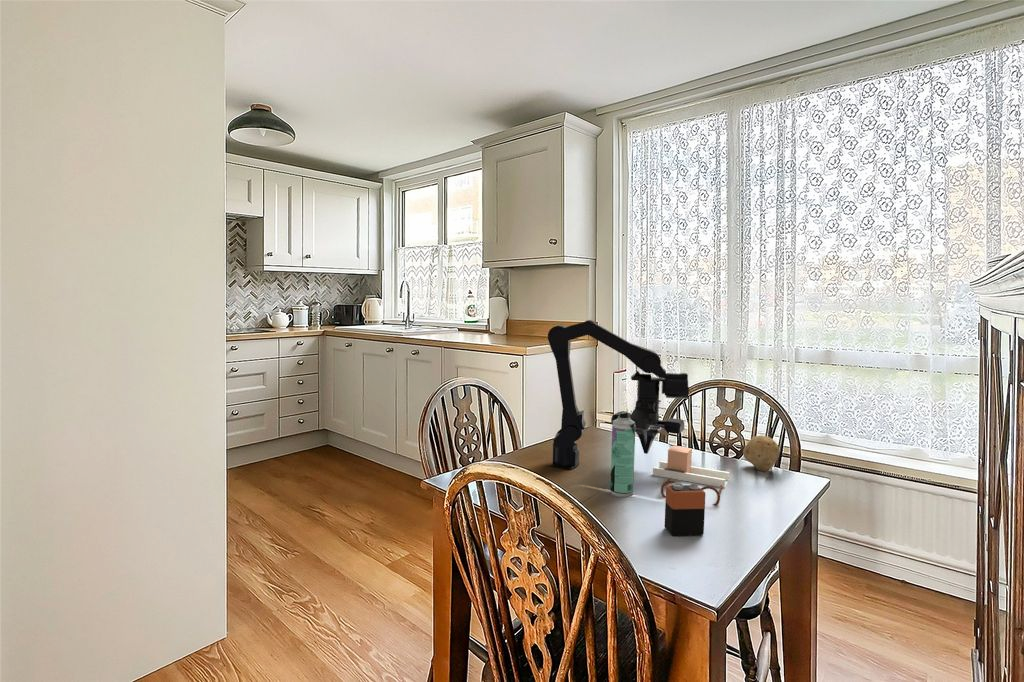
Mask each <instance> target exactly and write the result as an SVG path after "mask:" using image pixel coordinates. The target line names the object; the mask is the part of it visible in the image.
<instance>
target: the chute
mask: <svg viewBox="0 0 1024 682" xmlns="http://www.w3.org/2000/svg"><path fill="white" fill-rule="evenodd" d="M658 465H659V466H658V467H657V466H653V467H652V476H656V477H661V478H667V479H668V478H670V479H674V480H679V481H685V482H690V483H694V484H701V485H705V486H711V487H718V488H720V486H721V485H722V489H723V488H724V489H725V487H726V486H727V485H728V483H729V481H730V474H731V473H730V472H729V471H724V470H717V469H712V468H705V467H699V466H695V465H694V466H693V465H691V473H686V472H685V471H681V470H675V469H669V468H667V465H668V461H662V460H660V461H659V464H658Z"/></svg>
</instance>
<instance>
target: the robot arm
mask: <svg viewBox="0 0 1024 682" xmlns="http://www.w3.org/2000/svg"><path fill="white" fill-rule="evenodd" d="M586 336H590V337H591V338H593V339H595V340H596V341H598V342H600V343H602V344H604V345H605V346H607V347H609V348H610V349H612V350H614V351H616V352H618V353H619V354H620V355H622V356H624V357H626V358H627V359H629V361H631V363H632V364H634V365H635V366H636V367H638V369H640V370H641V371H642V372H643V373H640V371H639V370H636V371H635V372H634V374H632V375H631V376H630V379H631V381H637V395H636V397H637V398H636V401H635V407H634V409H633V411H632V412H628V416H629V417H630V419H631V420H632V421H634V422H635V434H637V437H638V439H639V441H640V444H641V447H642V451H643V454H645V455H646V454H647V455H648V453H649V452H650V450H651V447H652V445H653V442H654V440H655V439H656V437H657V435H658V434H659V433H661V432H662V431H663V429H664V431H666V433H670V434H681V433H683V431H685V421H684V420H683V419H681V418H672V417H669V418H668V419H666V420H660V414H659V406H660V404H661V403H660V402H661V401H660V400H661V399H660V382H661V395H664V396H665V398H666V399H682V400H683V399H686V400H688V399H689V394H690V393H689V391H690V386H689V374H688V373H687V372H681V373H680V372H678V373H675V372H674V373H673V372H667V371H666V369H665V368H663V366H662V361H661V358H660V356H659V354H658V352H656V351H655V350H653V349H649V348H647V347H644V346H641V345H637V344H635V343H632V342H630V341H628V340H626V339H624V338H622V337H621V336H619V335H617V334H616V333H615V332H612V331H610V330H609V329H607V328H604V327H603V326H601V325H600V324H598V323H596V322H595V321H594V320H592V319H587V320H585V321H583V322H580V323H579V322H578V323H575V324H572V325H568V326H566V325H564V324H557V325H555V326H553V327H552V328H550V329H549V331H548V333H547V341H548V343H549V346H550V350H551V352H552V354H553V357H554V358H555V364H556V372H557V378H558V385H559V392H560V393H559V394H560V398H561V399H560V400H561V405H562V406H561V407H562V411H561V412H562V413H561V428H560V429H559V430H557V432H556V433H555V436H554V438H553V441H552V462H551V463H549V465H550V467H555V468H560V469H565V470H572V469H574V468H576V467H577V466H578V465H580V462H579V461H580V449H578V443H575V442H577V441H579V440H580V438H581V437H582V436H583V432H584V430H585V429H586V425H587V423H586V421H585V410H579V408H578V406H577V400H576V399H577V398H576V394H575V385H574V378H573V372H572V365H571V364H572V363H571V358H570V357H571V356H570V355H571V345H572V343H571V341H572V340H574V339H578V338H582V337H586ZM652 374H653V375H655V376H656V377H652ZM620 413H621V411H617V412H616V413H614V414H613V415H611V418H610V425H612V424H613V420H616V419H617V418H618V416H619V415H620Z"/></svg>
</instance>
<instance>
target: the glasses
mask: <svg viewBox="0 0 1024 682" xmlns="http://www.w3.org/2000/svg"><path fill="white" fill-rule="evenodd" d="M672 483H678V482H677V481H675V480H671V478H667V479H666V481H664V482H663V483H662V484H661V487H660V495H661V497H663V498H665V499H666V494H665V492H664V490H665V489H664V488H666V486H668V484H672ZM700 488H701V489H702V490H703V491H705V490H706V489H707V490H712V491H714V492H715V493H716V496H717V498H716V502H715V503H713V504H712V506H715V507H716V506H718V505H719V503H720V501H721V493H722V491H723V487H722V485H721V486H720V487H719V489H718V488H715V486H712V485H705V486H702V487H700Z"/></svg>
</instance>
